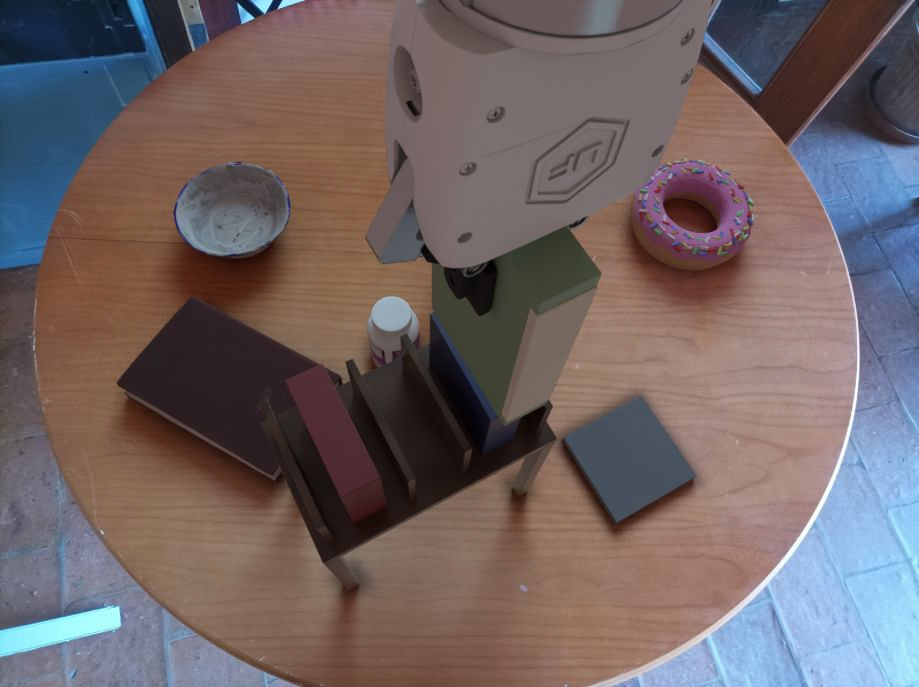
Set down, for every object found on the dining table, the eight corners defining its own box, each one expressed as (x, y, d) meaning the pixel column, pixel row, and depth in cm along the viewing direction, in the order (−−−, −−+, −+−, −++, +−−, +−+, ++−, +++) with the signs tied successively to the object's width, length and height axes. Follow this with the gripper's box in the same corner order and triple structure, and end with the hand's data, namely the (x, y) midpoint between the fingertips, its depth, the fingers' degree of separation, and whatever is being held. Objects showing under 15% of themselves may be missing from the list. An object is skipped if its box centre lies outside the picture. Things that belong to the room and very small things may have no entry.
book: (200, 305, 79) (191, 291, 76) (345, 384, 75) (341, 373, 72) (125, 396, 74) (113, 384, 71) (277, 485, 70) (270, 477, 67)
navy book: (512, 440, 55) (527, 402, 47) (481, 456, 54) (490, 420, 46) (459, 347, 58) (463, 298, 50) (429, 361, 57) (429, 313, 50)
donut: (606, 240, 85) (616, 215, 80) (656, 162, 90) (668, 135, 86) (714, 297, 82) (731, 275, 77) (759, 214, 87) (777, 188, 83)
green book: (547, 405, 42) (604, 274, 28) (504, 428, 41) (541, 306, 28) (472, 288, 45) (490, 122, 32) (431, 308, 44) (431, 146, 31)
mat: (693, 478, 72) (697, 476, 72) (614, 524, 70) (617, 522, 69) (638, 398, 76) (641, 395, 75) (561, 440, 74) (563, 437, 73)
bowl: (171, 210, 84) (157, 185, 80) (271, 172, 87) (263, 146, 83) (208, 294, 79) (195, 272, 75) (313, 251, 82) (307, 227, 78)
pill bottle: (422, 334, 78) (421, 291, 70) (418, 377, 76) (417, 339, 67) (374, 330, 78) (367, 287, 70) (368, 374, 76) (361, 335, 67)
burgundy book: (387, 506, 52) (380, 477, 44) (353, 524, 51) (340, 498, 44) (337, 405, 55) (322, 362, 48) (304, 421, 55) (284, 380, 47)
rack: (527, 491, 71) (571, 412, 49) (348, 590, 66) (310, 550, 45) (470, 394, 75) (488, 282, 54) (298, 480, 71) (241, 395, 49)
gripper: (340, 115, 15) (388, 413, 31) (899, -99, 19) (679, 266, 35) (211, -89, 17) (318, 285, 34) (724, -238, 21) (595, 162, 38)
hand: (502, 273), depth 34 cm, fingers closed on green book, 3 cm apart
